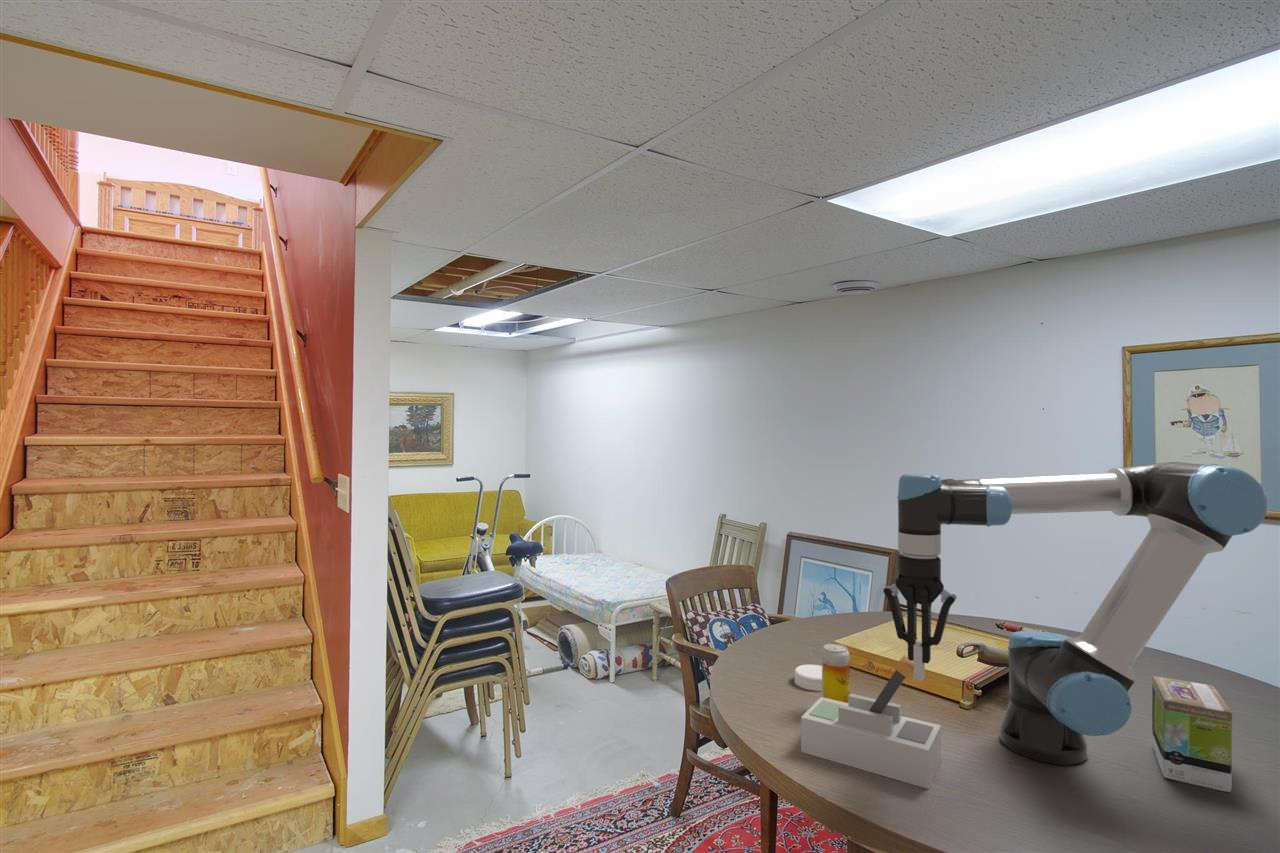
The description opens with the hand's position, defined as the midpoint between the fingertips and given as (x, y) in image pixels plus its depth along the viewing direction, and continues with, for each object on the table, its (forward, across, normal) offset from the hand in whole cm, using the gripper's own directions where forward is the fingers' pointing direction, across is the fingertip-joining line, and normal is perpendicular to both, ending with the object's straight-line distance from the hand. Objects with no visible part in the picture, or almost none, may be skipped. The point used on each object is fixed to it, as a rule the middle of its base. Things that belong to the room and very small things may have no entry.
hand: (919, 678), depth 123 cm
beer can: (+18, +21, -16) cm, 32 cm away
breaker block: (+18, +9, 0) cm, 20 cm away
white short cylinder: (+18, +31, -30) cm, 47 cm away
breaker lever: (+10, +9, 0) cm, 14 cm away
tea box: (+18, -43, -30) cm, 55 cm away
